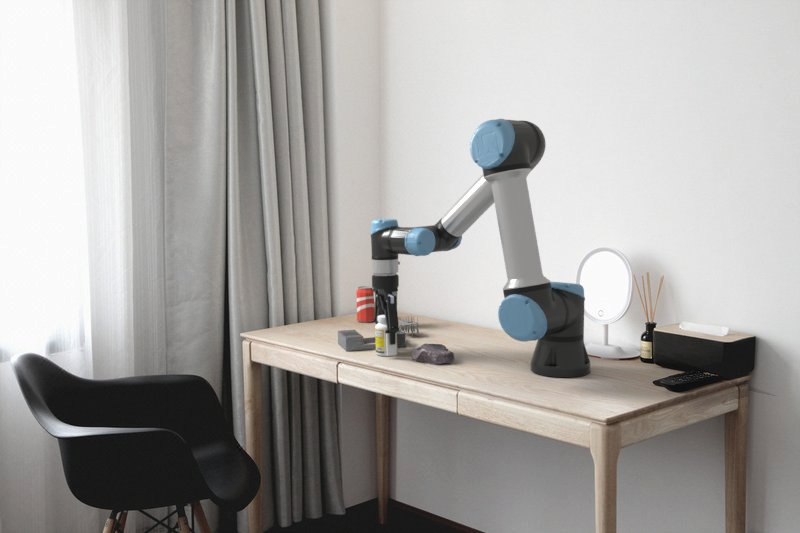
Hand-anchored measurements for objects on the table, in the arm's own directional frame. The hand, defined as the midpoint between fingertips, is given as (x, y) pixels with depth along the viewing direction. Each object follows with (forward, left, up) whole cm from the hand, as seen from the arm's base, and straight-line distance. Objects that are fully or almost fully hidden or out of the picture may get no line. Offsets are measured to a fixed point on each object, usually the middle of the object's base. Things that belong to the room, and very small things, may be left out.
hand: (386, 351), depth 236 cm
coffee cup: (+36, -10, -1) cm, 37 cm away
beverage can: (+51, -7, -1) cm, 51 cm away
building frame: (+23, -13, -1) cm, 26 cm away
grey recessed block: (+13, +1, -1) cm, 13 cm away
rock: (-12, -10, -1) cm, 16 cm away
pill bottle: (0, 0, -1) cm, 1 cm away
